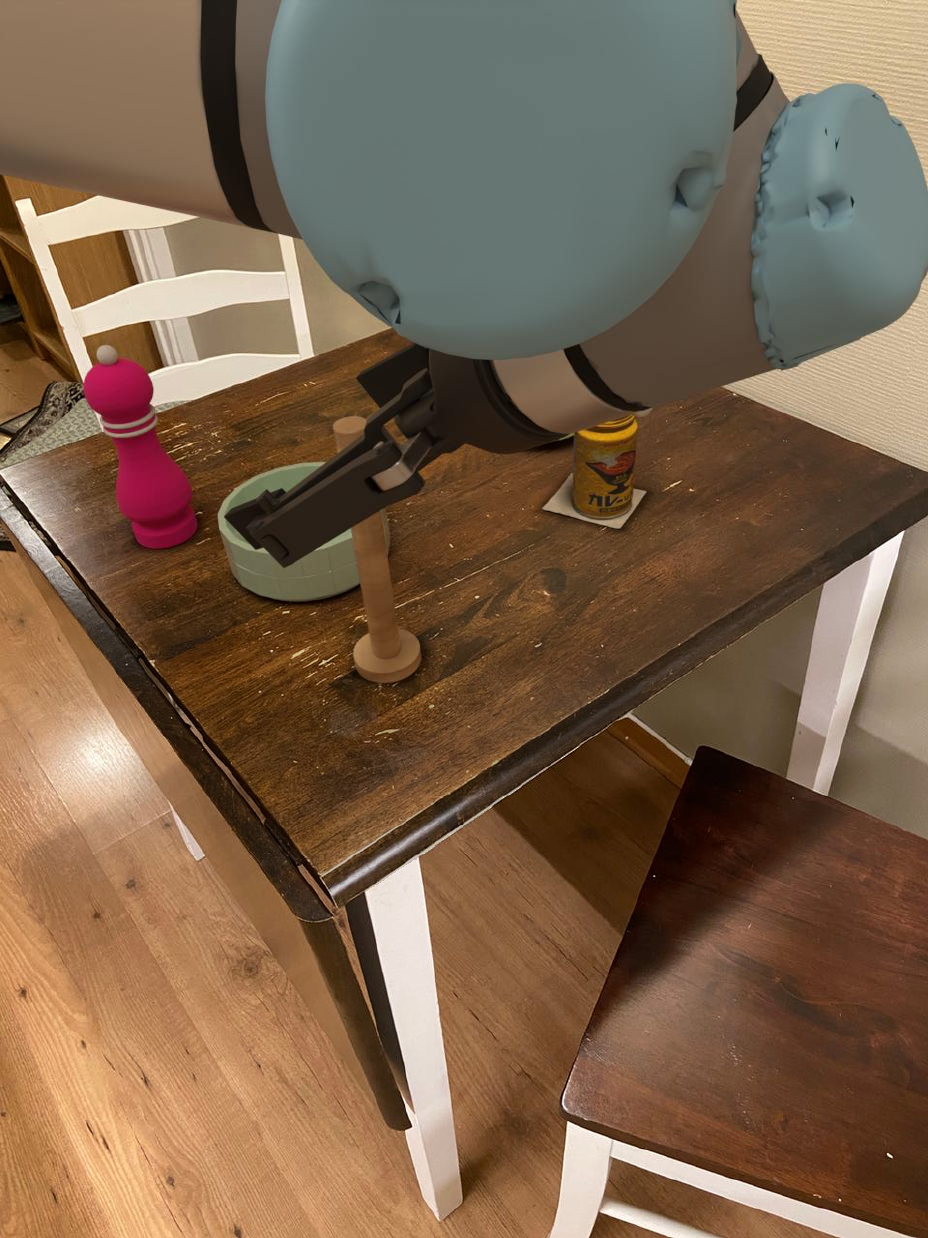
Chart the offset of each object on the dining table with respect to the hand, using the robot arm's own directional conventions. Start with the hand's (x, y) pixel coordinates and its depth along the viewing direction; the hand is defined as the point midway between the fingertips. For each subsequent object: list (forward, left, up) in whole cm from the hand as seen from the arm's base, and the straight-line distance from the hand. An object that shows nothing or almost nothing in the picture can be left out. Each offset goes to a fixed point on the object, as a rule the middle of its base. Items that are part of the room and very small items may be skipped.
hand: (311, 456), depth 55 cm
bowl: (-7, +20, -23) cm, 31 cm away
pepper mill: (-23, +25, -23) cm, 41 cm away
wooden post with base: (+2, +5, -23) cm, 23 cm away
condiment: (+21, +28, -23) cm, 42 cm away
